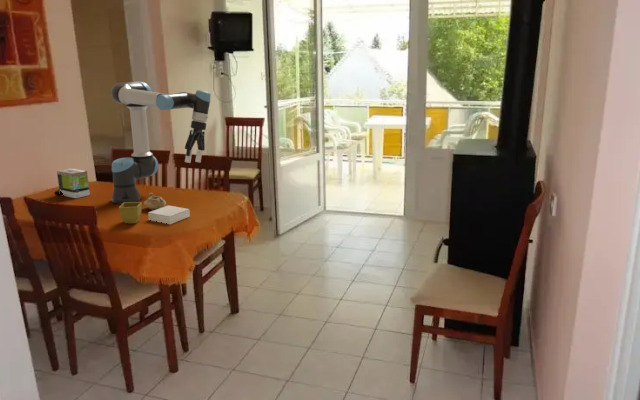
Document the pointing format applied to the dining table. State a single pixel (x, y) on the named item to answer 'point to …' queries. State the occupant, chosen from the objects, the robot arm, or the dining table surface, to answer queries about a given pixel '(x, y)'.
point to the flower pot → (130, 211)
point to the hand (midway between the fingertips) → (192, 162)
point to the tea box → (73, 183)
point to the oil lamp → (154, 202)
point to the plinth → (169, 214)
